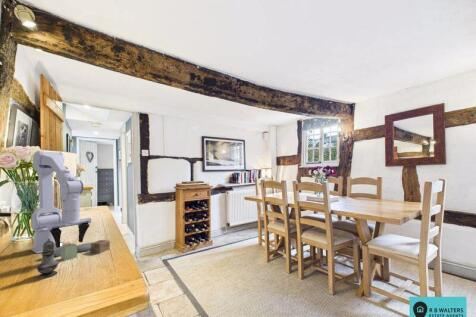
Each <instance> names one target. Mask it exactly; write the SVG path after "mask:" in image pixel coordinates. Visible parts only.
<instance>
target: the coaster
mask: <svg viewBox="0 0 476 317" xmlns="http://www.w3.org/2000/svg"><path fill="white" fill-rule="evenodd" d="M91 243H92V242H87V243H81V244H76V245H77V253H85V252H87V253H88V252H90V251H91Z"/></svg>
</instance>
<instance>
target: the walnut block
mask: <svg viewBox="0 0 476 317" xmlns="http://www.w3.org/2000/svg"><path fill="white" fill-rule="evenodd" d="M110 242H111V241H110V240H109V239H108V240H107V239H99V240H97V241H94V242H93V241H92V242H90V243H91V251H89V252H90V253H92V254H102V253H104V252H106V251H110V248H111V247H110Z"/></svg>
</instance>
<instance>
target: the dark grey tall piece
mask: <svg viewBox="0 0 476 317" xmlns="http://www.w3.org/2000/svg"><path fill="white" fill-rule="evenodd" d="M54 252H55V251H54V242H53V241H50V239H48V241H47V242H45V243H44V244H43V252H41V253H40V254H41V255H42V258H41V262H40V263H39V264H37V265H36V266H35V268H36V270H37V272H38V273H39V274H38V275H37V276H36V279H38V280H40V279H41V280H43V279H44V280H45V279H48V278H52V277H54V276H55V275H57V274H58V271H56V269H57V267H58V266H59V265H58V264H59V263H60V261H59V260H55V258H54Z"/></svg>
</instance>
